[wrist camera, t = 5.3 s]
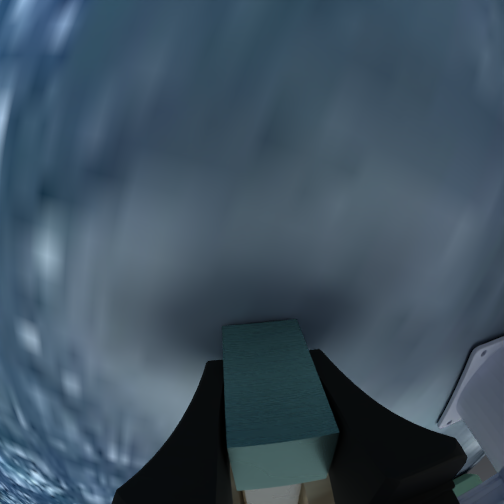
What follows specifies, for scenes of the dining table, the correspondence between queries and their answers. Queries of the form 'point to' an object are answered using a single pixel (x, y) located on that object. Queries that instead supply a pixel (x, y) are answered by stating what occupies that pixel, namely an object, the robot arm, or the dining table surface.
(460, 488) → the pale green rod
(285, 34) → the dining table surface
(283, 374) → the shaft
